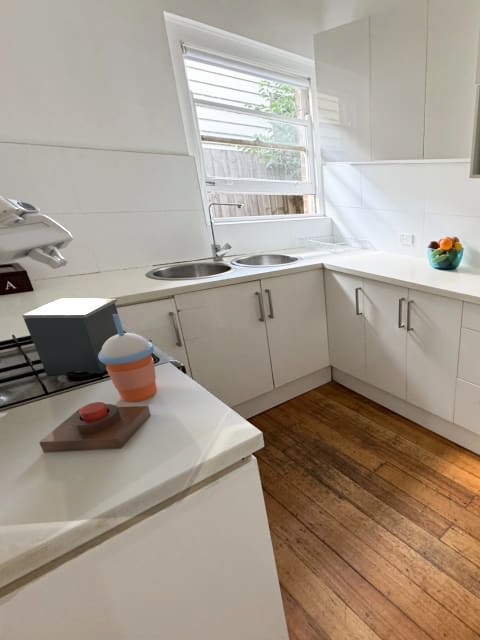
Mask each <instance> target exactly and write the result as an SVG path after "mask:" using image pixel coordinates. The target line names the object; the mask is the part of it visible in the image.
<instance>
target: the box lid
mask: <svg viewBox="0 0 480 640" xmlns="http://www.w3.org/2000/svg"><path fill="white" fill-rule="evenodd" d="M117 302H118V300H117V298H60V299H58V300H55V301H53V302H50V303H48V304H45V305H43V306H41V307H38V308H36V309H33V310H31V311H28V312H26V313H23V314H21V315H22V318H23V319H24V318H86V317H88V316H90V315H92V314H94V313H96V312H98V311H100V310H102V309H104V308H106V307H108V306H110V305H112V304H113V303H115V304H116V303H117Z"/></svg>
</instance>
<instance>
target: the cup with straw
mask: <svg viewBox="0 0 480 640" xmlns="http://www.w3.org/2000/svg"><path fill="white" fill-rule="evenodd" d="M113 318H114V321H115V324H116V328H117V331H118V335H115V336H113V337H111V338H109V339H108V340H107V341H106V342H105V343H104V345H103V347H102V350H101V351H100V352H99V354H98V358H99V360H100V361H101V362H102V363H104V364H106V369H107V370H106V371H107V373H108V375H109V378H110V380H111V382H112V384H113V386H114V388H115V389H116V390H117V392H118V394H119V396H120V398H121V400H122V401H124V402H127V403H136V402H141V401H145V400H148V399H149V398H151V397H154V396H155V395H156V393H157V391H158V387H157V382H156V381H157V379H156V378H157V375H156V374H157V373H156V369H155V368H156V367H155V361H154V358H153V357H152V354H153V353H154V350H155V347H154V344H152V342H150V341H147V339H146V338H144V336H141V335H139V334H137V333H132V332H124V328H123V325H122V322H121V318H120V315H119V313H118V314H113Z"/></svg>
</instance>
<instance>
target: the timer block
mask: <svg viewBox="0 0 480 640" xmlns="http://www.w3.org/2000/svg"><path fill="white" fill-rule="evenodd" d="M105 405H106V408H107V411H108V413H107V414H106V415H105V416H103V417H101V418H99V419H96V420H92V421H83V420H82V418H81V415H80V413H79V410H80V409H81V408H82V407H80V408H79V409H78V410H76V411H75V412H74V413H72V414H71V415H70V416H68V417H67V419H65V420H64V421H63V422H62V423H60V424H59V425H58V426H56V428H54V429H53V430H51V432H49V433H48V434H46V435H45V436H44V437H43V438H42V439H40V441H38V443H39V445H40V448H41V450H42V452H43V453H61V452H81V451H82V452H83V451H100V450H101V451H102V450H118V449H119V450H121V449H122V448H123V447H124V446H125V445H126V444H127V443H128V441H130V439H131V438H132V437H133V436H134V435H135V434H136V433H137V432H138V430H140V428H141V427H142V426H143V425H144V423H146V421H147V420H148V419H149V418H150V417H151V411H150V408H149V405H134V406H133V405H131V406H118V405H116V404H112V403H105Z"/></svg>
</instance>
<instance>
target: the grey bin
mask: <svg viewBox="0 0 480 640" xmlns="http://www.w3.org/2000/svg"><path fill="white" fill-rule="evenodd" d="M113 314H118V315H119V312H118V309H117V305H116V302H115V303H113V304H112V305H110V306H108V307H106V308H104V309H102V310H100V311H98V312H96V313H94V314H92V315H90V316H88V317H86V318H23V320H24V324H25V325H26V328H27V331H28V333H29V335H30V338H31V340H32V343H33V345H34V347H35V350H36V352H37V355H38V357H39V360H40V363H41V365H42V367H43V369H44V372H45V375H46V376H68V375H69V376H70V375H75V374H67V373H68V372H71V371H84V372H89V373H90V374H89V375H101V374H103V373H105V372H106V371H107V369H106V364H104V363H102V362H101V361H100V360H99V358H98V354H99V352H100V351H101V350H102V347H103V345H104V343H105V342H106V341H107V340H108V339H109V338H111V337H113V336H115V335H118V331H117V328H116V324H115V321H114V318H113ZM93 373H94V374H93ZM95 373H97V374H95Z"/></svg>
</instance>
